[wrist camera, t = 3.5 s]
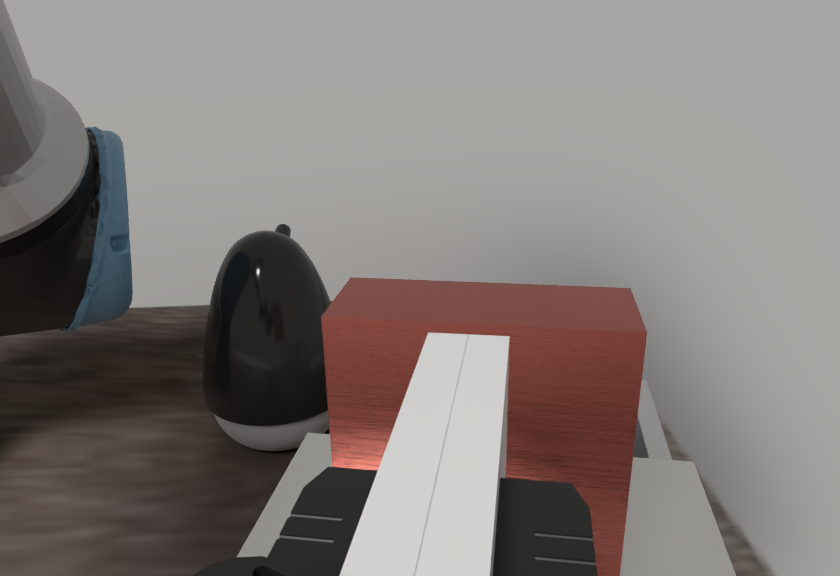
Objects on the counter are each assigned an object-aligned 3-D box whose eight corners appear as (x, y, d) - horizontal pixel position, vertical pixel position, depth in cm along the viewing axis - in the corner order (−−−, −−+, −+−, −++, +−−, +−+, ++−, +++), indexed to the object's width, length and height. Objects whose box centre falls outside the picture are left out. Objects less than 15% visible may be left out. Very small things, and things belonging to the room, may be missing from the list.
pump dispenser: (361, 396, 54) (352, 212, 49) (339, 474, 45) (324, 255, 39) (237, 393, 55) (215, 212, 50) (189, 470, 45) (154, 254, 40)
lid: (874, 1020, 13) (1058, 555, 9) (86, 871, 15) (-37, 458, 12) (689, 485, 28) (728, 227, 24) (309, 455, 31) (289, 216, 27)
